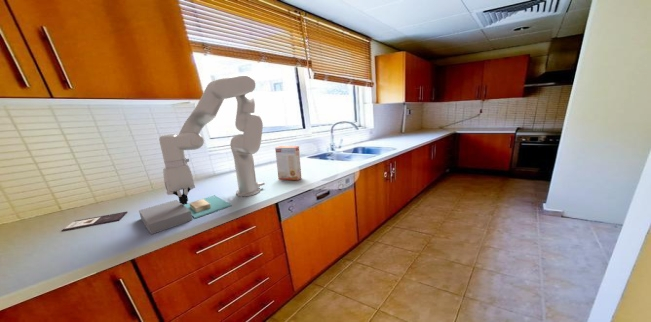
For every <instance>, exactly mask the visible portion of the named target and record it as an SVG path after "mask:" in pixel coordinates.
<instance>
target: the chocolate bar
mask: <svg viewBox="0 0 651 322" xmlns="http://www.w3.org/2000/svg"><path fill="white" fill-rule="evenodd" d="M127 214H128V211H123V212H115V213H111V214H106V215H101V216H94V217H88V218H84V219H78V220H74V221H73V222H71V223H70V224H68V225H67V226H65V227H64V228H62V229H61V232H66V231H73V230H79V229H82V228H87V227H93V226H99V225H103V224H109V223H114V222H120V221H121V220H122V218H124V217H125V216H126V215H127Z"/></svg>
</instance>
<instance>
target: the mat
mask: <svg viewBox="0 0 651 322" xmlns="http://www.w3.org/2000/svg"><path fill="white" fill-rule="evenodd" d="M202 199H204V200H205V201H207V202H208V203H210V206H211V208H209V209H206V210H203V211H200V212H195V211H194V210H193V209H192V208H191V207H190V203H192V202H195V201H199V200H202ZM184 206H185V207H186V208H188V209H189V210H190V211H191V215H192V218H193V217H194V218H193V219H198V218H201V217H205V216H207V215H210V214H213V213H216V212H218V210H219V211H221V210H224V209H227V208H229V207H232V206H233V205H232V204H231V203H230V202H228V201H226V200H224V199H222V198H220V197H218V196H216V195H212V196H207V197H204V198H201V199H198V200H194V201H191V202H187V204H185V205H184ZM215 211H216V212H215Z"/></svg>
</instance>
